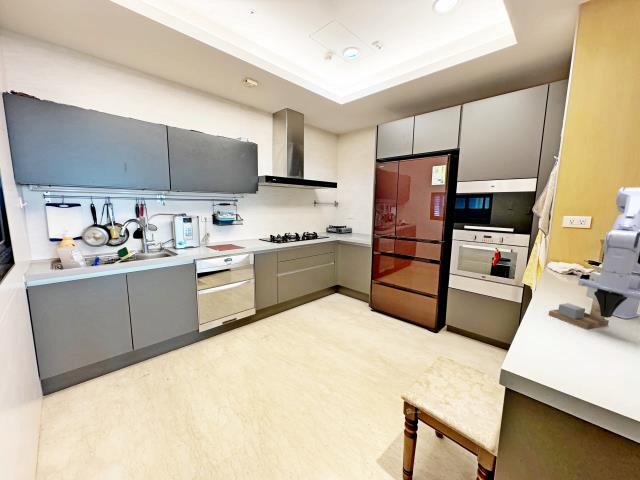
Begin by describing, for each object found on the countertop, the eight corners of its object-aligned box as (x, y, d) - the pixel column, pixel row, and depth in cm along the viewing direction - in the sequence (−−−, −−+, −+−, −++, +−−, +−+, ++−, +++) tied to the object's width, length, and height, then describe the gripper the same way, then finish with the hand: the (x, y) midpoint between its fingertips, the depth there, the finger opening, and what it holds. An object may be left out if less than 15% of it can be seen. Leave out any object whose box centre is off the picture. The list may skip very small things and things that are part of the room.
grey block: (566, 311, 86) (568, 303, 86) (583, 317, 82) (585, 308, 82) (557, 313, 85) (559, 304, 84) (574, 319, 81) (576, 310, 80)
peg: (593, 316, 84) (596, 298, 83) (606, 320, 81) (610, 302, 80) (587, 317, 83) (590, 299, 82) (600, 321, 80) (604, 303, 79)
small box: (618, 304, 100) (624, 278, 99) (601, 302, 101) (607, 276, 100) (601, 296, 108) (606, 272, 106) (585, 295, 109) (590, 271, 107)
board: (569, 311, 91) (570, 307, 90) (607, 325, 81) (608, 320, 81) (548, 315, 87) (549, 310, 87) (586, 329, 78) (587, 324, 78)
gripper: (575, 265, 79) (567, 307, 81) (646, 280, 65) (634, 329, 67) (589, 265, 81) (581, 305, 83) (660, 278, 68) (648, 326, 70)
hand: (605, 316), depth 75 cm, fingers closed
